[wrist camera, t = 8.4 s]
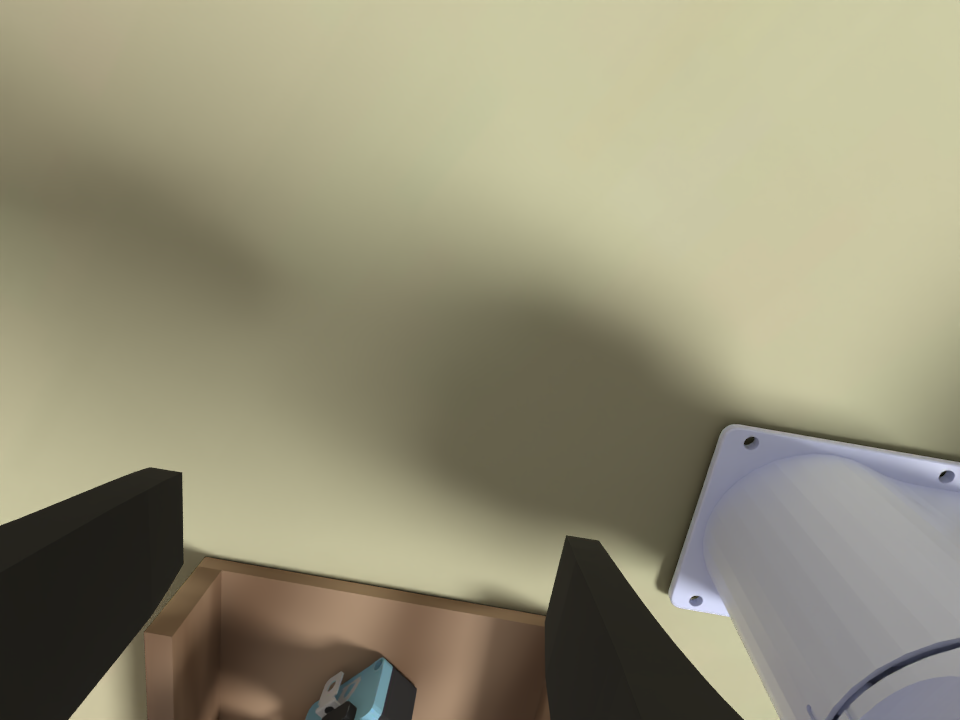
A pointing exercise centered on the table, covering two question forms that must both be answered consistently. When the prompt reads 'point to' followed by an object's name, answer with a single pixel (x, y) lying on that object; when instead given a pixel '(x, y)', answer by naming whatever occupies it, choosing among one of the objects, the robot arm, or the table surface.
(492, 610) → the walled box
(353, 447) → the table surface
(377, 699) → the push button
